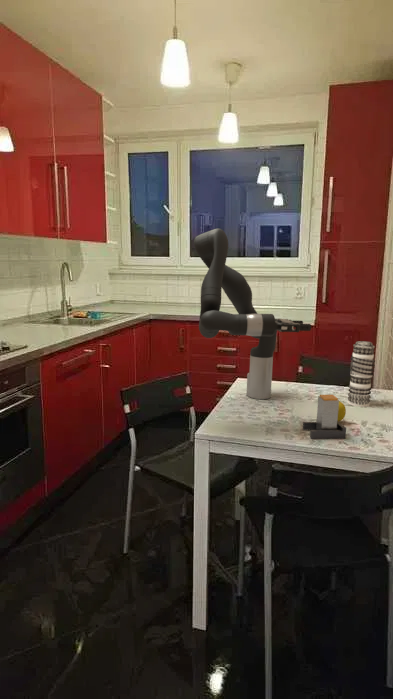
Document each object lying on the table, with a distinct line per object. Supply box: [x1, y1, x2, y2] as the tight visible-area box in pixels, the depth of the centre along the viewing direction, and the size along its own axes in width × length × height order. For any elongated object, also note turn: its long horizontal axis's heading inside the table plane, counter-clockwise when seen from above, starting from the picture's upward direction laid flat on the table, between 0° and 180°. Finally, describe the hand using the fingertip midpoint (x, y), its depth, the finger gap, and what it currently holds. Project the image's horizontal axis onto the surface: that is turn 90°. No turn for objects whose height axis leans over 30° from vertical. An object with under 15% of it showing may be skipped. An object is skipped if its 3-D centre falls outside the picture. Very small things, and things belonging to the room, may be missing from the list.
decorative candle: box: [347, 340, 376, 408], centre depth 180 cm, size 9×9×25 cm
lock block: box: [315, 394, 340, 430], centre depth 147 cm, size 5×5×13 cm
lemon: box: [337, 400, 347, 422], centre depth 159 cm, size 6×6×8 cm
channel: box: [301, 420, 347, 440], centre depth 148 cm, size 11×9×4 cm
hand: (306, 325), depth 153 cm, fingers open, 8 cm apart
